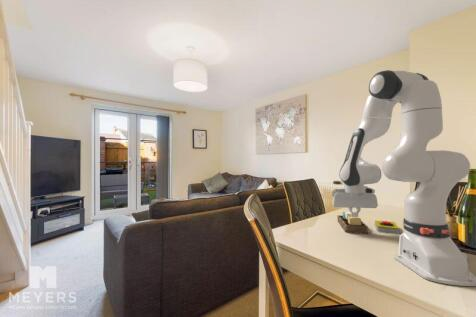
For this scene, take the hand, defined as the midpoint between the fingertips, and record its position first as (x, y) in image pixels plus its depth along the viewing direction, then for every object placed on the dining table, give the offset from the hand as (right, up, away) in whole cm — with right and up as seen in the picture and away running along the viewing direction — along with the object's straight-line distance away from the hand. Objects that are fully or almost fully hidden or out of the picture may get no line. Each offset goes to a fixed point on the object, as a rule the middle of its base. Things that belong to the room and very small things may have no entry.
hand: (354, 216), depth 110 cm
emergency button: (+17, -8, +2) cm, 19 cm away
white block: (+2, -4, +6) cm, 7 cm away
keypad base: (+2, -7, +6) cm, 10 cm away
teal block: (+3, -5, +12) cm, 13 cm away
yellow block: (0, -5, 0) cm, 5 cm away
